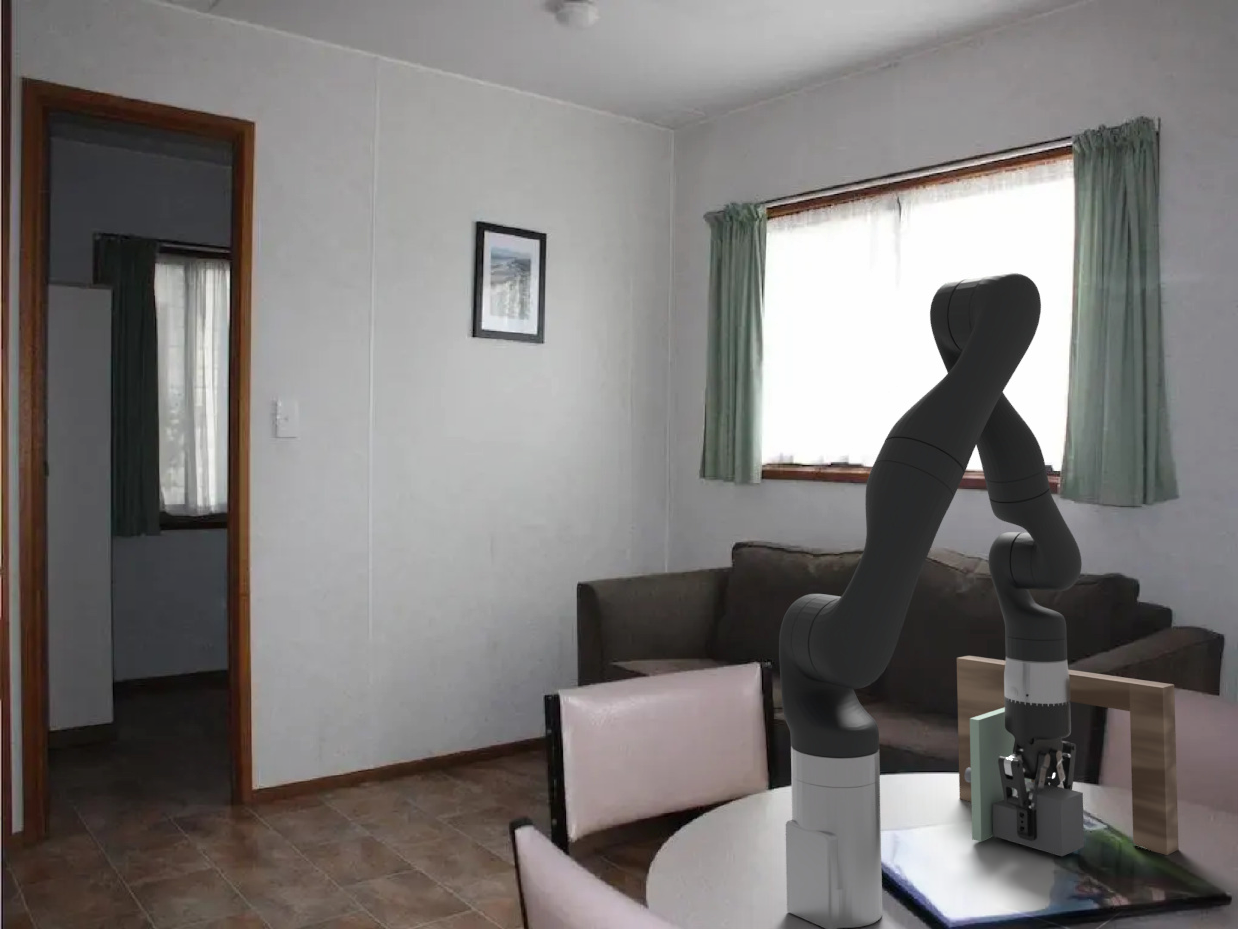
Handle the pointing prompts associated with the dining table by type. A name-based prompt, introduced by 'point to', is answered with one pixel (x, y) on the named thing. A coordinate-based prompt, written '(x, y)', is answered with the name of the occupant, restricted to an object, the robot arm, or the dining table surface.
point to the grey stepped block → (1046, 821)
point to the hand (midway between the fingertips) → (1039, 833)
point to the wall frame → (1142, 698)
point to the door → (987, 768)
